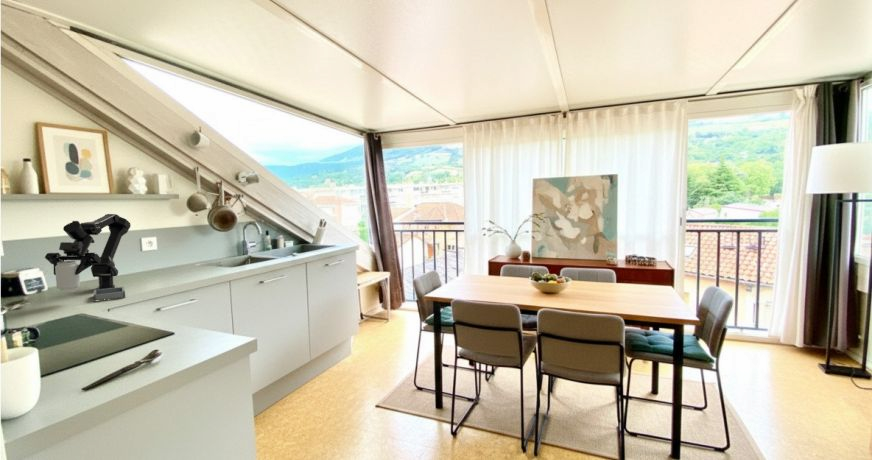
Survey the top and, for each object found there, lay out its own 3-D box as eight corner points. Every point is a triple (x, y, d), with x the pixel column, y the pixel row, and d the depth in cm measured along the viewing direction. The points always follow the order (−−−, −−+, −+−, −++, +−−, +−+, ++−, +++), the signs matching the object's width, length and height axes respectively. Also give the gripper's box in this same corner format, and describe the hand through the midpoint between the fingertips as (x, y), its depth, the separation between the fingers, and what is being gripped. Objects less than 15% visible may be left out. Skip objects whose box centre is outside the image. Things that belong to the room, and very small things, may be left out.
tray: (94, 296, 181) (93, 290, 181) (124, 292, 188) (123, 286, 188) (94, 301, 173) (93, 295, 172) (125, 297, 180) (124, 291, 180)
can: (67, 291, 165) (65, 264, 164) (51, 290, 166) (49, 263, 164) (85, 286, 173) (83, 260, 171) (69, 285, 173) (67, 259, 172)
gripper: (45, 234, 168) (27, 264, 159) (95, 235, 172) (80, 264, 163) (60, 249, 177) (44, 278, 167) (107, 249, 181) (94, 277, 172)
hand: (65, 274), depth 167 cm, fingers closed on can, 7 cm apart
